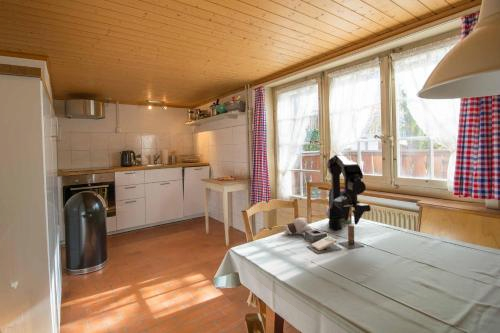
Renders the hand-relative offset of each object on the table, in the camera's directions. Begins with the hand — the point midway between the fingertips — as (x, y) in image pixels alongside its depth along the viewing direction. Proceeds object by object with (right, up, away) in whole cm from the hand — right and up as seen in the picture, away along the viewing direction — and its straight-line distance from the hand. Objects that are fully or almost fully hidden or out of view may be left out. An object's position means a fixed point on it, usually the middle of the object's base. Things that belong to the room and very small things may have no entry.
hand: (351, 222), depth 122 cm
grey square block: (-14, -11, +9) cm, 20 cm away
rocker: (-14, -9, -2) cm, 16 cm away
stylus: (0, -11, +1) cm, 11 cm away
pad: (0, -11, +1) cm, 11 cm away
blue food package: (+8, -9, +38) cm, 39 cm away
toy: (-22, -11, +18) cm, 30 cm away
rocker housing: (-13, -12, -2) cm, 18 cm away
